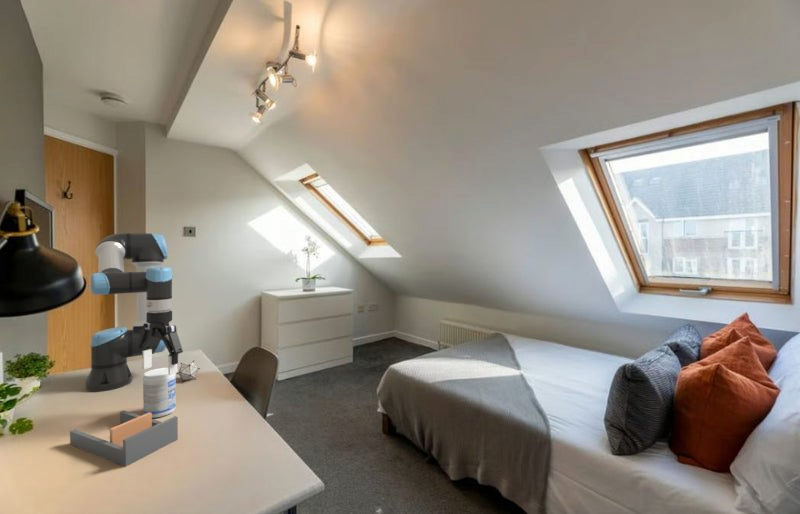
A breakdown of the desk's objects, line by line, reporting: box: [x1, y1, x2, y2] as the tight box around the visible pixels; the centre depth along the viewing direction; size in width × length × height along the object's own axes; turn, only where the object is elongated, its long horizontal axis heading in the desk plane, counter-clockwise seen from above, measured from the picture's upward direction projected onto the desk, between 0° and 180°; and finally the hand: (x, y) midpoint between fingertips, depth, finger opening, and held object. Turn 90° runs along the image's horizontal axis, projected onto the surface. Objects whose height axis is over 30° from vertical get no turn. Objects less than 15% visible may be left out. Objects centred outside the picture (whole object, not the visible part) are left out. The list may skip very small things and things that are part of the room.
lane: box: [69, 410, 179, 467], centre depth 105 cm, size 26×14×7 cm, turn 68°
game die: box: [175, 360, 201, 383], centre depth 154 cm, size 9×8×10 cm
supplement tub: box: [142, 367, 177, 419], centre depth 124 cm, size 10×10×15 cm
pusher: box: [109, 412, 153, 447], centre depth 103 cm, size 4×11×7 cm, turn 158°
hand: (159, 370), depth 123 cm, fingers open, 13 cm apart
